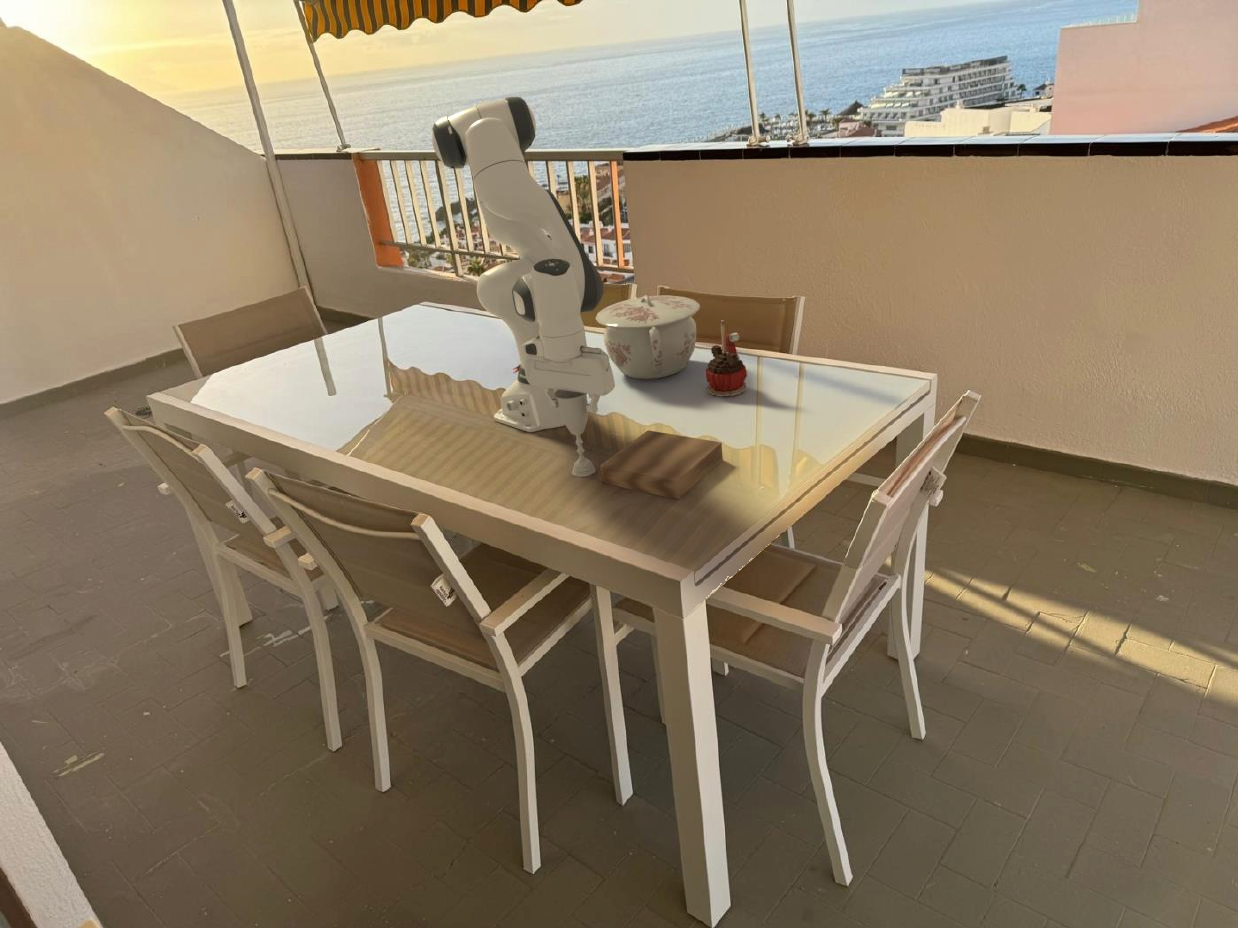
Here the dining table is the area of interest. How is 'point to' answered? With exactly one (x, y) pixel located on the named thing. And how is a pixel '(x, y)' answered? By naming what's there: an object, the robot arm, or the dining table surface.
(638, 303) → the chamber pot
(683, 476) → the plinth
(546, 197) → the robot arm
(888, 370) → the dining table surface
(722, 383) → the cake
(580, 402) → the chalice
